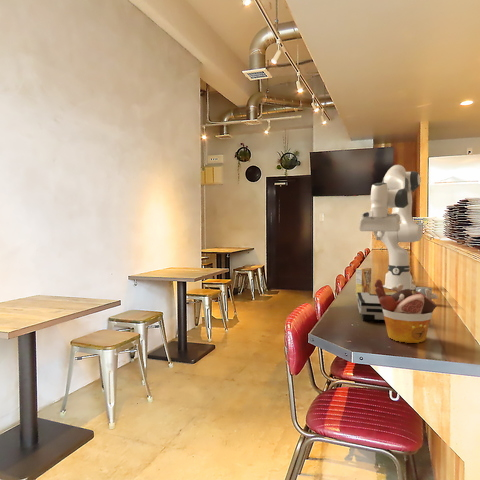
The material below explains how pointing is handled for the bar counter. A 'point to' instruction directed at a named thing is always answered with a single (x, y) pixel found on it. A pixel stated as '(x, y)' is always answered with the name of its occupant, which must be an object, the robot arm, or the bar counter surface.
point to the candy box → (363, 280)
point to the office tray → (370, 307)
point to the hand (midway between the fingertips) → (379, 240)
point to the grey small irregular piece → (423, 290)
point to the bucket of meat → (406, 313)
